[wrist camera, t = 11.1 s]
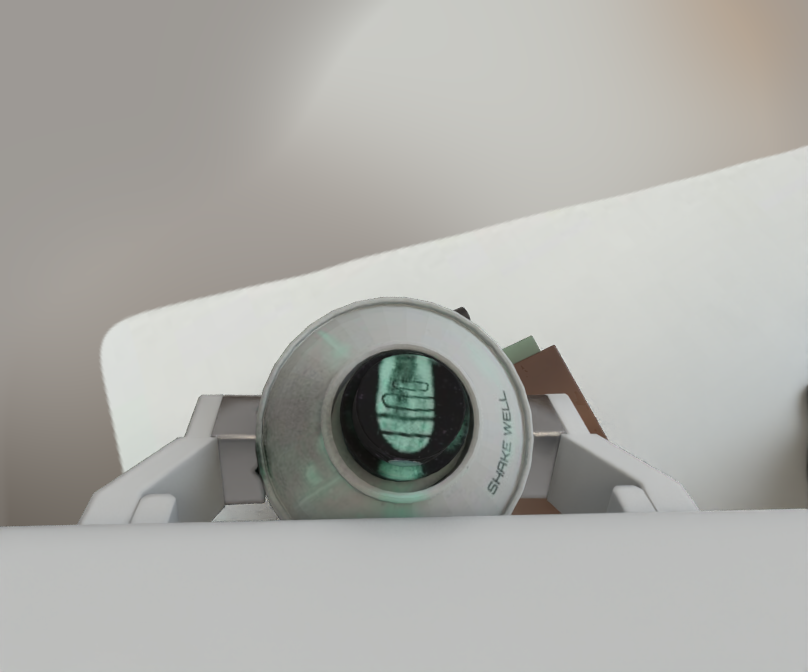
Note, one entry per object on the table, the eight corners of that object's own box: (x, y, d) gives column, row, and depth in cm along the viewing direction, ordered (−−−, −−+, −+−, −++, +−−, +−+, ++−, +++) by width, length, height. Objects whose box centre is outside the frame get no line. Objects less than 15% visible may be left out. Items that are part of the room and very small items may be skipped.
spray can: (337, 567, 27) (330, 681, 8) (283, 456, 28) (166, 328, 9) (443, 506, 28) (655, 481, 9) (388, 402, 30) (475, 190, 10)
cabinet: (371, 446, 44) (381, 426, 35) (510, 379, 46) (554, 344, 37) (459, 633, 41) (496, 666, 32) (603, 550, 43) (675, 558, 34)
